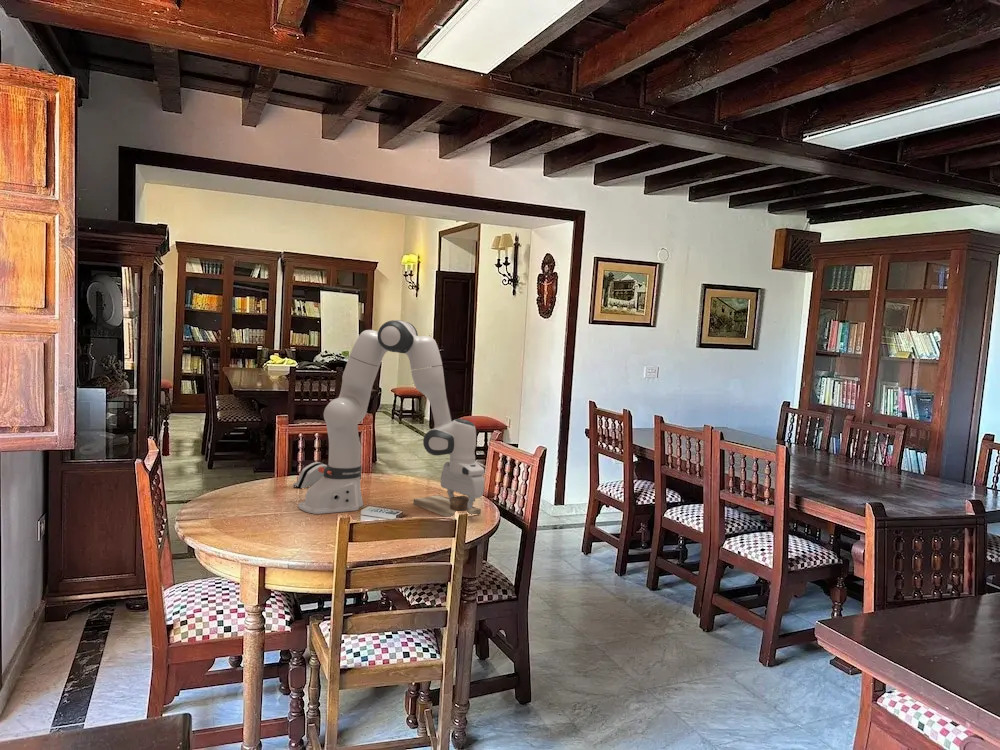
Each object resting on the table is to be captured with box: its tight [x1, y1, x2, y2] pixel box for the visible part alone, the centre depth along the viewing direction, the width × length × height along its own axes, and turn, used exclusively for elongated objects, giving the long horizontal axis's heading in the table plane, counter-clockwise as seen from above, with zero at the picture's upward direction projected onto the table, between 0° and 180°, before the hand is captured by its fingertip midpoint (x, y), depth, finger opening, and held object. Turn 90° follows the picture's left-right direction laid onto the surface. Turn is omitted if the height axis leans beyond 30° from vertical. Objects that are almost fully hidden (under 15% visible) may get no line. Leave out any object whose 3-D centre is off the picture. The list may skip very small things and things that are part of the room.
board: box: [412, 494, 482, 518], centre depth 242 cm, size 12×24×2 cm, turn 42°
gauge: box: [450, 495, 476, 511], centre depth 237 cm, size 10×4×4 cm, turn 131°
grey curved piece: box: [292, 461, 328, 489], centre depth 270 cm, size 17×5×10 cm, turn 165°
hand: (460, 505), depth 236 cm, fingers open, 8 cm apart
